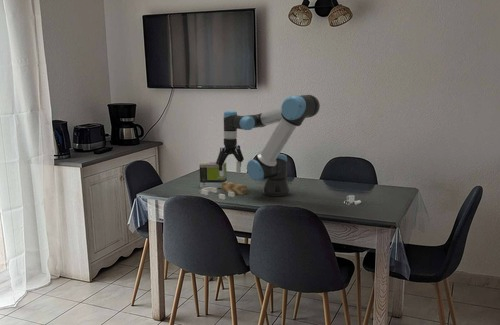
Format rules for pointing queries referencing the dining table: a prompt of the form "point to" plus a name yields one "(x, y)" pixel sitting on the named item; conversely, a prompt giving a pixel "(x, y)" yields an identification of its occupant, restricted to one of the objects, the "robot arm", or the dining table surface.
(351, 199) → the teacup and saucer
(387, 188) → the dining table surface
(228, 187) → the tan wooden bar
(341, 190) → the dining table surface
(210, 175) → the tea box
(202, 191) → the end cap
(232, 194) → the guide cap
